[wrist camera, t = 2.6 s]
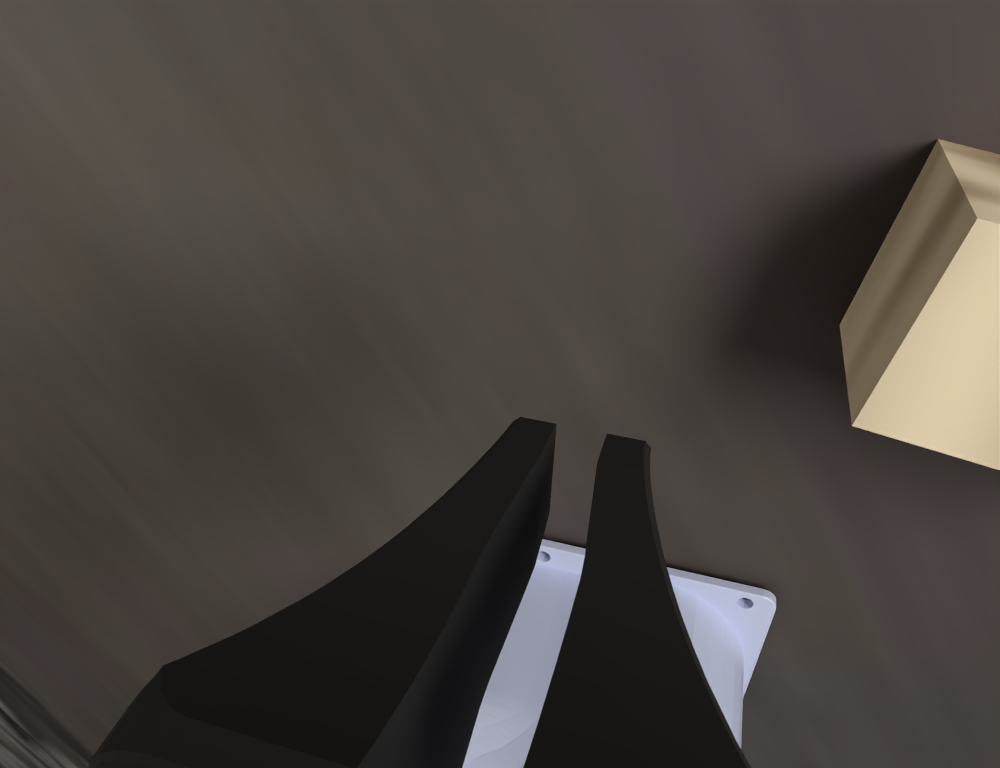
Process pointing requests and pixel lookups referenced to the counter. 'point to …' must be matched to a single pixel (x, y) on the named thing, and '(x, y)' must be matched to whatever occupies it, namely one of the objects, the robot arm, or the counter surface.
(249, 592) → the counter surface
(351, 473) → the counter surface
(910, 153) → the counter surface
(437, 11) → the counter surface
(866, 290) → the block
